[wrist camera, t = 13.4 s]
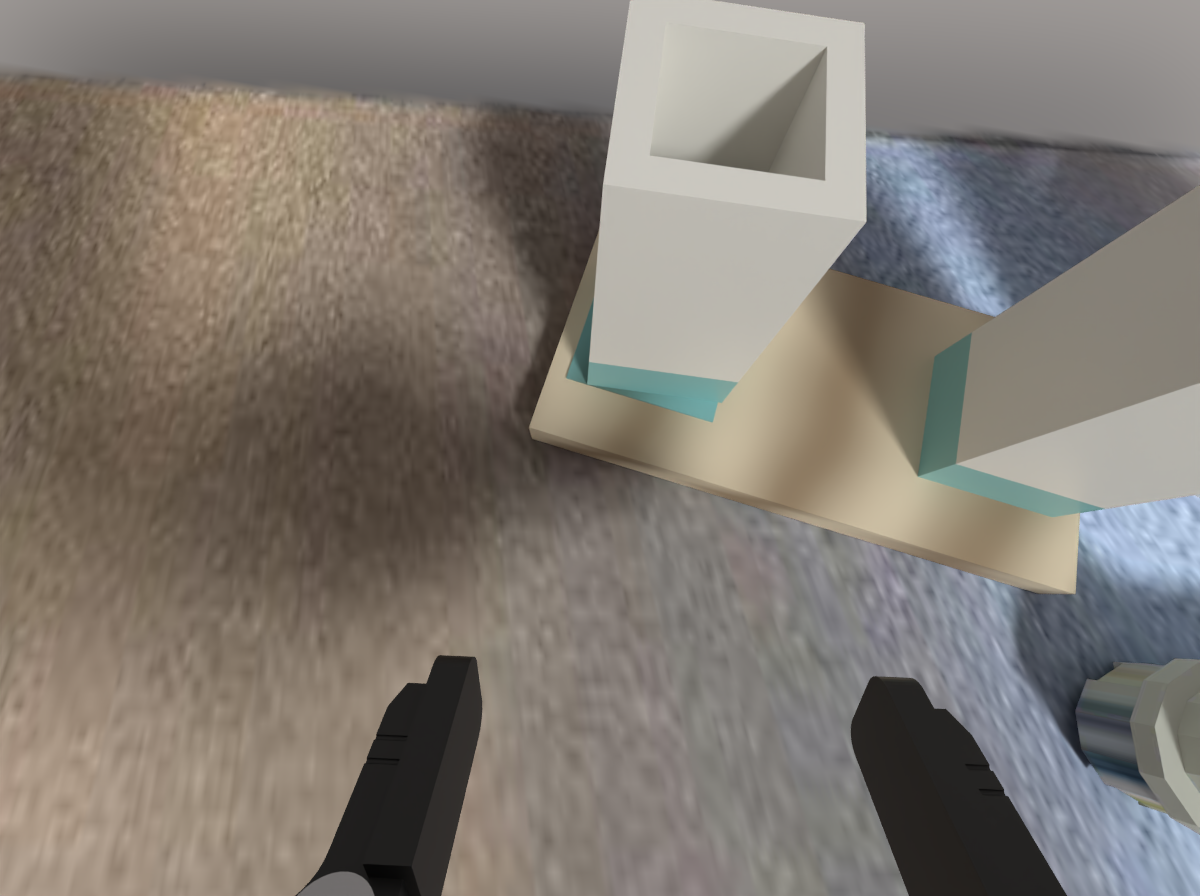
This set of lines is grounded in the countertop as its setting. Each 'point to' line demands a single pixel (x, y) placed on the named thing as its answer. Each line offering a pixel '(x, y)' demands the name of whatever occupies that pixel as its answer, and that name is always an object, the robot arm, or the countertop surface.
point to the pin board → (817, 432)
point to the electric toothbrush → (1147, 734)
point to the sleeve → (722, 188)
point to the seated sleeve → (1081, 382)
